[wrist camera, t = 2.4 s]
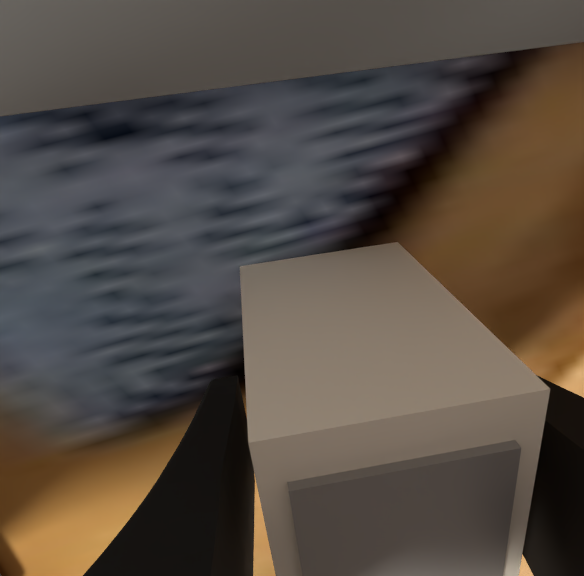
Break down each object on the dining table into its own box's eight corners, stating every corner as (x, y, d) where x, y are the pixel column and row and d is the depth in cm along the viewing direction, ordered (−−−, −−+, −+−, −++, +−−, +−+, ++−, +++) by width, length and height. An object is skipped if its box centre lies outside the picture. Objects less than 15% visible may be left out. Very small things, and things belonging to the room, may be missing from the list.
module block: (271, 446, 14) (300, 696, 8) (239, 265, 11) (248, 452, 5) (399, 423, 14) (512, 651, 8) (396, 241, 11) (557, 396, 6)
